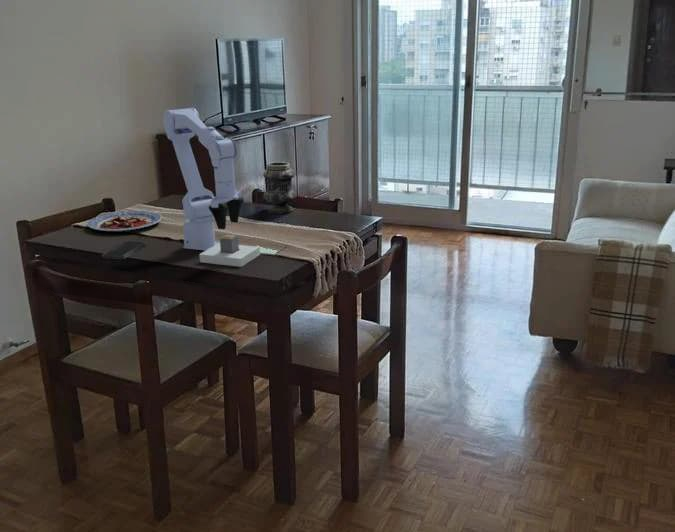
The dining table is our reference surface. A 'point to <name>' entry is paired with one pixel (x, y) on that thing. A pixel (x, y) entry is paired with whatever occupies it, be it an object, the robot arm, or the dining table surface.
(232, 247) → the plug
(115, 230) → the ceramic plate
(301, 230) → the dining table surface
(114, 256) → the phone
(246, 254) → the white board with hole
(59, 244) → the dining table surface
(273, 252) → the pad
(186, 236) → the robot arm
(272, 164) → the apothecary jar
